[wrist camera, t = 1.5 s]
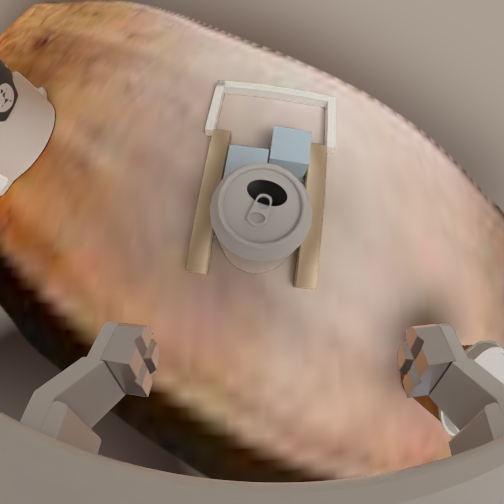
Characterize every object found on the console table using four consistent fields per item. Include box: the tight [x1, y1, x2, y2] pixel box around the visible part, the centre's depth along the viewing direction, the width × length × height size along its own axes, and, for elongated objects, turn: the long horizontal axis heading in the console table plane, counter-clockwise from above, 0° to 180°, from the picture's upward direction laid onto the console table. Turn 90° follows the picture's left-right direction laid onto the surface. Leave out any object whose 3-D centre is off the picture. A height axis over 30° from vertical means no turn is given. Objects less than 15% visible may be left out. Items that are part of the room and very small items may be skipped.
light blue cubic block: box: [269, 126, 311, 179], centre depth 31 cm, size 4×4×4 cm
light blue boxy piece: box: [223, 144, 269, 179], centre depth 31 cm, size 4×4×4 cm
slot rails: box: [186, 129, 327, 289], centre depth 32 cm, size 13×16×2 cm
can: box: [210, 162, 313, 273], centre depth 26 cm, size 8×8×12 cm
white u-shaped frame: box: [205, 80, 336, 154], centre depth 33 cm, size 15×8×2 cm, turn 82°
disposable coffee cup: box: [401, 341, 504, 436], centre depth 24 cm, size 10×10×12 cm
